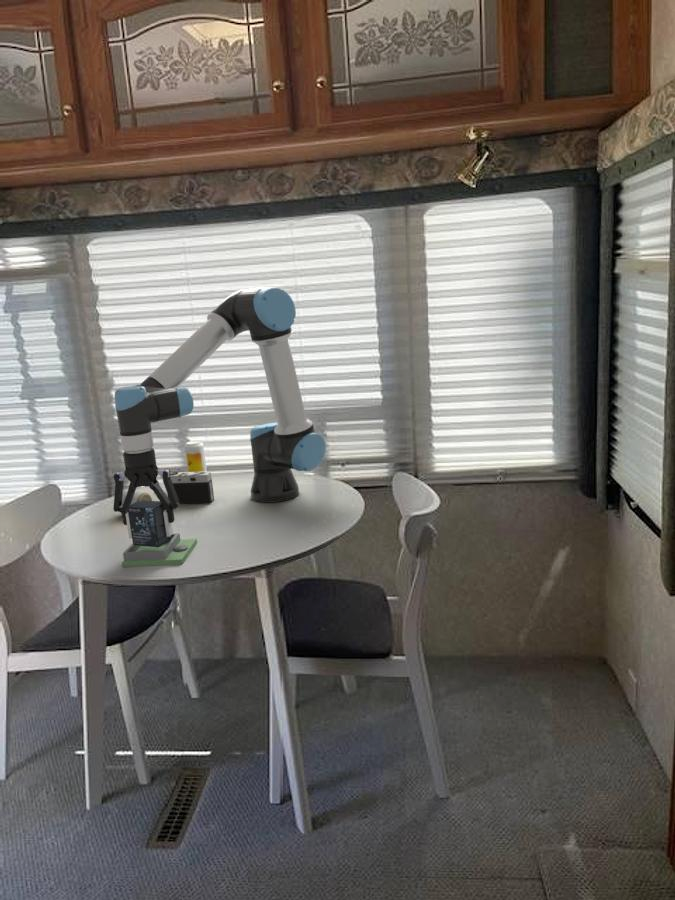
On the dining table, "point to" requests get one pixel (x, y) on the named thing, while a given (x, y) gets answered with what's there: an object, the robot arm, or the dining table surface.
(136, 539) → the box
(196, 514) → the dining table surface
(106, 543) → the dining table surface
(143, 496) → the ceramic mug
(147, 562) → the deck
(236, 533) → the dining table surface
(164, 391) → the robot arm
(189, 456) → the white and yellow cylinder
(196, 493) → the camera
